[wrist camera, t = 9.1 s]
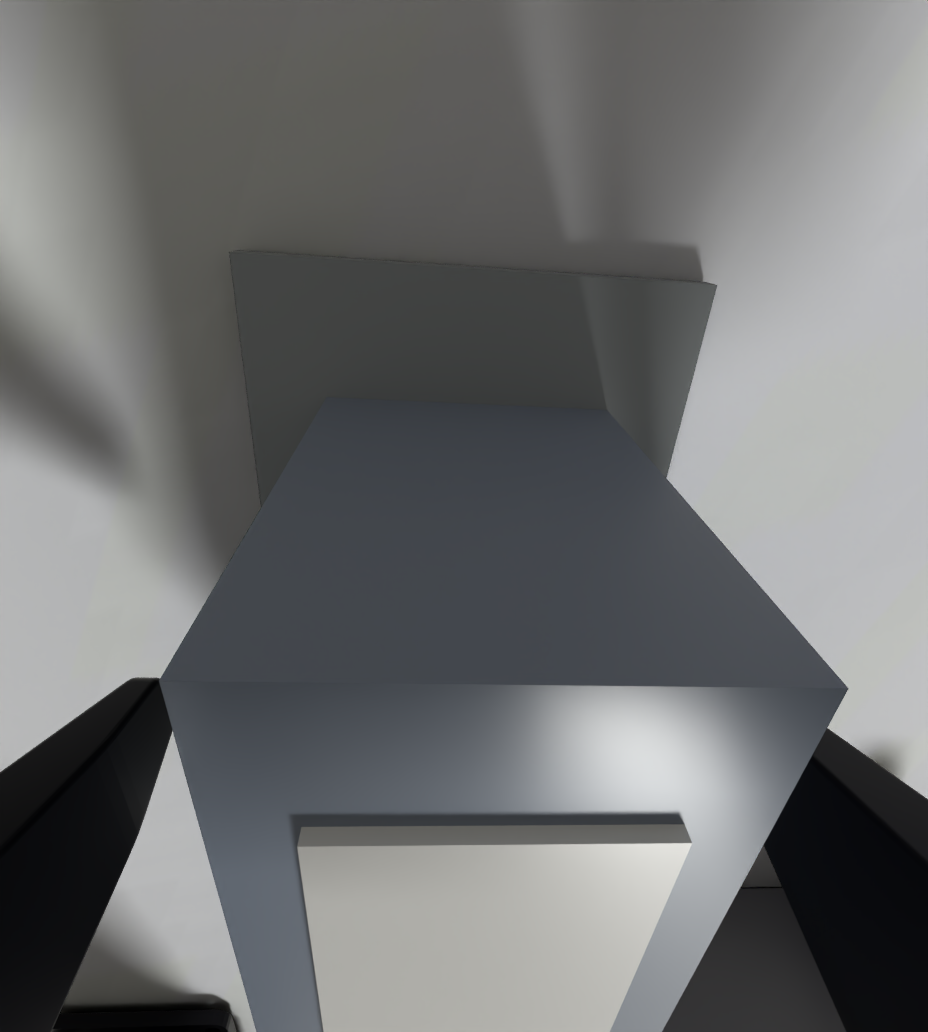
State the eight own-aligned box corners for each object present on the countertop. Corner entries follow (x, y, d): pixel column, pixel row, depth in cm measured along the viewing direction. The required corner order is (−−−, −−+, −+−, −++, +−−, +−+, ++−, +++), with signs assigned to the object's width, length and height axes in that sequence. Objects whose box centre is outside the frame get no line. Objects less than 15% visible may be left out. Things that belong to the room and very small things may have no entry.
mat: (301, 784, 14) (297, 799, 13) (238, 250, 8) (229, 252, 8) (577, 784, 14) (581, 798, 14) (705, 282, 8) (717, 285, 8)
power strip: (369, 974, 19) (352, 1168, 15) (363, 820, 15) (338, 1032, 11) (925, 961, 20) (1037, 1135, 16) (1061, 818, 16) (1254, 1005, 12)
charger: (348, 771, 13) (287, 1168, 8) (326, 397, 9) (148, 700, 3) (537, 771, 13) (607, 1152, 8) (607, 409, 9) (863, 706, 4)
